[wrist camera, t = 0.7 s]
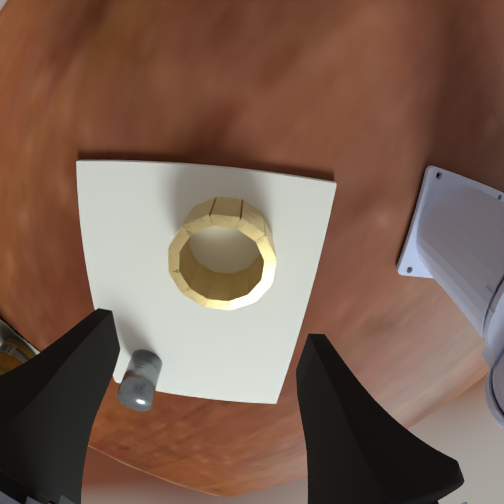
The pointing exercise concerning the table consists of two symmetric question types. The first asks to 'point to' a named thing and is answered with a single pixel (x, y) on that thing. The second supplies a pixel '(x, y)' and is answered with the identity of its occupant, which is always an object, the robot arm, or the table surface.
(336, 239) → the table surface
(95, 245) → the mat
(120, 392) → the piston
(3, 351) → the condiment
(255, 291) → the ring
